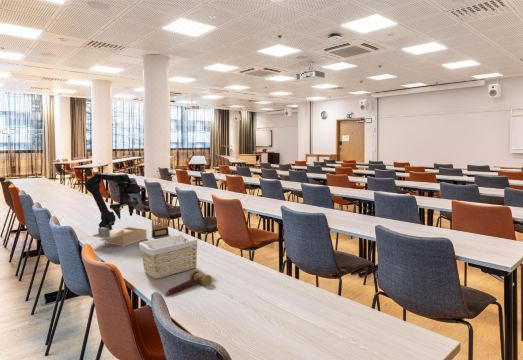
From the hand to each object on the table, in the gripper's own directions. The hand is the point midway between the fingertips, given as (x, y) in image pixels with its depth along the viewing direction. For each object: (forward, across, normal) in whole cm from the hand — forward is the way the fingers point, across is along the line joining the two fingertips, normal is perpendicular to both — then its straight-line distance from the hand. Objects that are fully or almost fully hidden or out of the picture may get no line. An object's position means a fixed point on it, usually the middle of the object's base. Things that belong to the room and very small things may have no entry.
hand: (125, 217), depth 244 cm
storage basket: (+13, -34, -69) cm, 78 cm away
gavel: (+14, -47, -91) cm, 103 cm away
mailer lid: (+7, -15, -7) cm, 18 cm away
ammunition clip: (+13, +11, -19) cm, 26 cm away
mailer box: (+13, -6, -7) cm, 16 cm away
